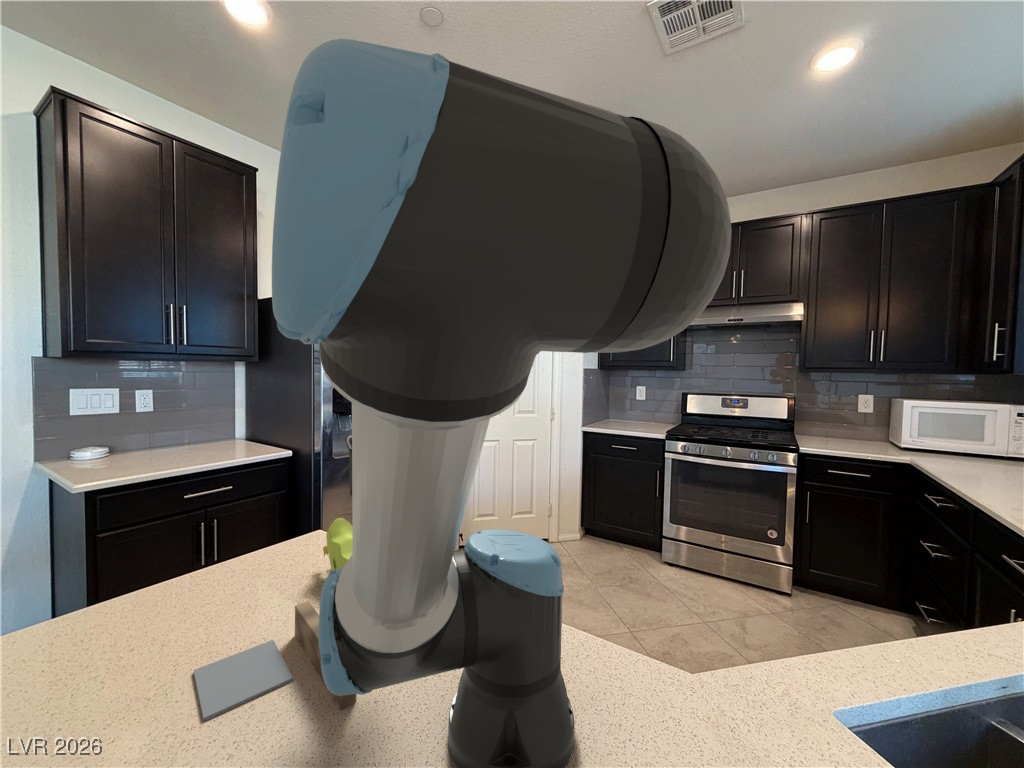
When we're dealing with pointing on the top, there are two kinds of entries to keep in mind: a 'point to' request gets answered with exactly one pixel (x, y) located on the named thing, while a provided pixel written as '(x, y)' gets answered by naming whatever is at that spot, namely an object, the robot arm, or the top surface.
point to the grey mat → (240, 678)
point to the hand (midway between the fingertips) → (387, 536)
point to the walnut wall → (314, 644)
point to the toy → (339, 543)
